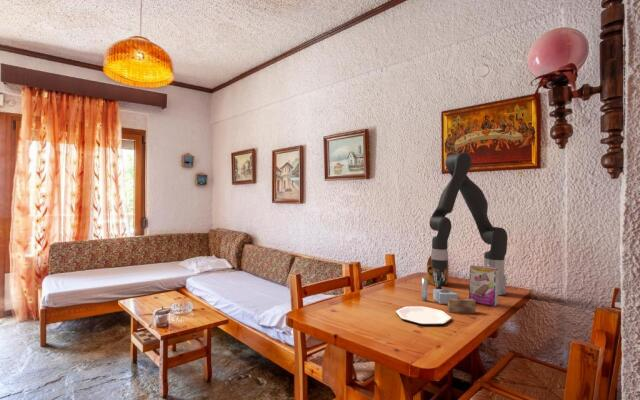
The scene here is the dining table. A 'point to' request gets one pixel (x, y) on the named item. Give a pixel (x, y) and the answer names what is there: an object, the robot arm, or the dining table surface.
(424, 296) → the dowel
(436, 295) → the block
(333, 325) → the dining table surface
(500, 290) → the robot arm
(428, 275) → the coffee package
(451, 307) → the wall
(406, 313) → the plate
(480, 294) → the candy bar box
